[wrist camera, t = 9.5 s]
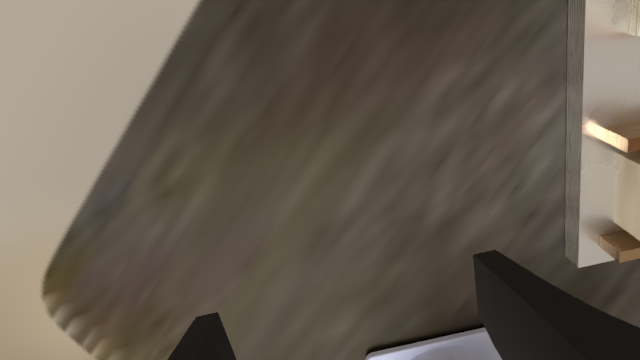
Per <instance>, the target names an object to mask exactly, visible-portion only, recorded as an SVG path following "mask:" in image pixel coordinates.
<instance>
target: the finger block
mask: <svg viewBox="0 0 640 360" xmlns="http://www.w3.org/2000/svg"><path fill="white" fill-rule="evenodd" d="M614 222H615V223H616V224H617V225H619V226H620V227H621V228H623V229H624V230H626V231H627V232H628V233H630V234H631V235H632V236H634V237H635V238H636V239H638V240H639V241H640V150H638V151H633V152H629V153H626V152H625V153H621V154H619V156H618V170H617V185H616V199H615V213H614Z"/></svg>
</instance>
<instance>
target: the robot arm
mask: <svg viewBox="0 0 640 360" xmlns="http://www.w3.org/2000/svg"><path fill="white" fill-rule="evenodd" d="M473 258H474V270H475V281H476V293H477V304H478V313H479V315H480V318H481V320H482V322H483V324H484V326H485V327H484V328H480V329H475V330H471V331H466V332H462V333H457V334H453V335H448V336H444V337H439V338H435V339H430V340H426V341H421V342H417V343H412V344H407V345H403V346H398V347H394V348H389V349H385V350H380V351H376V352H372V353H370V354H368V355H367V357H366V360H640V328H638V327H636V326H634V325H632V324H629V323H627V322H625V321H622V320H620V319H618V318H615V317H613V316H611V315H609V314H607V313H605V312H602V311H600V310H598V309H596V308H594V307H592V306H590V305H588V304H586V303H585V302H583V301H581V300H579V299H577V298H575V297H573V296H571V295H569V294H567V293H566V292H564V291H562V290H560V289H558V288H557V287H555V286H553V285H551V284H550V283H548V282H546V281H545V280H543V279H541V278H540V277H538V276H536V275H535V274H533V273H531V272H530V271H528V270H527V269H525V268H523V267H522V266H520V265H519V264H517V263H515V262H514V261H512V260H511V259H509V258H507V257H506V256H504V255H503V254H501V253H499V252H498V251H496V250H493V251H488V252H484V253H479V254H475V255H473ZM168 360H236V358H235V355H234V352H233V350H232V347H231V345H230V342H229V340H228V337H227V335H226V332H225V329H224V327H223V324H222V322H221V319H220V317H219V314H218V312H216V313H212V314H207V315H203V316H199V317H196V318H195V320H194V321H193V323H192V324H191V326H190V327H189V329H188V330H187V331H186V333H185V334H184V336H183V337H182V339H181V340H180V342H179V343H178V345H177V346H176V348H175V349H174V351H173V352H172V354H171V355H170V357H169V358H168Z"/></svg>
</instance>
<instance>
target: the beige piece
mask: <svg viewBox="0 0 640 360" xmlns="http://www.w3.org/2000/svg"><path fill="white" fill-rule="evenodd" d="M638 150H640V0H568V38H567V114H566V191H565V256H566V257H567V258H568V259H569V260H570V261H571V262H572V263H573V264H574V265H575V266H576V267H577V268H581V267H586V266H590V265H594V264H599V263H603V262H608V261H612V260H616V261H617V262H619V263H621V262H626V261H630V260H635V259H639V258H640V241H639V240H638V239H636V238H635V237H634V236H632V235H631V234H630V233H628V232H627V231H626V230H624V229H623V228H621V227H620V226H619V225H617V224H616V223H615V222H614V213H615V199H616V185H617V170H618V156H619V154H621V153H625V152H626V153H629V152H633V151H638Z"/></svg>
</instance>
